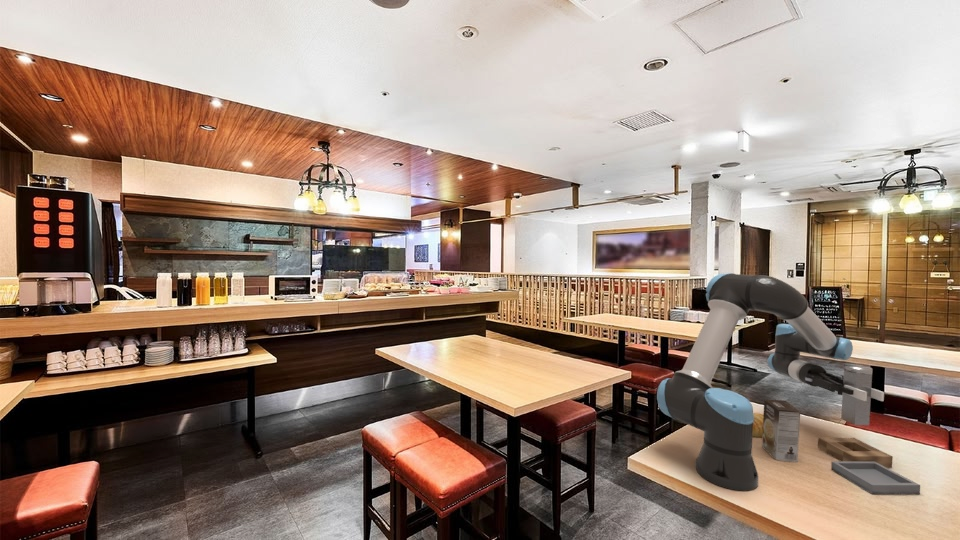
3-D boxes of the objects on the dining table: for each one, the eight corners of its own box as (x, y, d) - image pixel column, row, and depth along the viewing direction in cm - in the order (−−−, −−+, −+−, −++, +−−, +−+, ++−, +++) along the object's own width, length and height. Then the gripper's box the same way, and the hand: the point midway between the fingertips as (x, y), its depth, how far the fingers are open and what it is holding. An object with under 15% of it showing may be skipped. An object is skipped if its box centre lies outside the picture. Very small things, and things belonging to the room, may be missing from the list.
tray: (872, 494, 105) (872, 485, 105) (831, 469, 117) (831, 461, 117) (919, 494, 106) (920, 485, 105) (874, 469, 118) (874, 461, 117)
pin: (854, 426, 121) (857, 369, 120) (835, 417, 127) (838, 363, 126) (875, 426, 121) (878, 369, 120) (855, 417, 127) (858, 364, 127)
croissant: (736, 447, 138) (746, 432, 134) (716, 423, 146) (725, 408, 142) (787, 441, 142) (798, 426, 138) (765, 418, 150) (775, 403, 146)
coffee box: (760, 446, 131) (762, 398, 131) (782, 448, 130) (784, 400, 129) (775, 460, 122) (777, 409, 122) (799, 462, 121) (801, 411, 120)
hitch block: (852, 467, 118) (853, 456, 118) (817, 448, 130) (818, 437, 130) (891, 467, 119) (892, 456, 119) (853, 448, 131) (854, 437, 131)
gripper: (831, 383, 142) (902, 409, 119) (783, 383, 142) (844, 408, 118) (832, 363, 142) (903, 384, 118) (784, 362, 141) (845, 383, 118)
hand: (873, 396), depth 118 cm, fingers closed on pin, 4 cm apart
